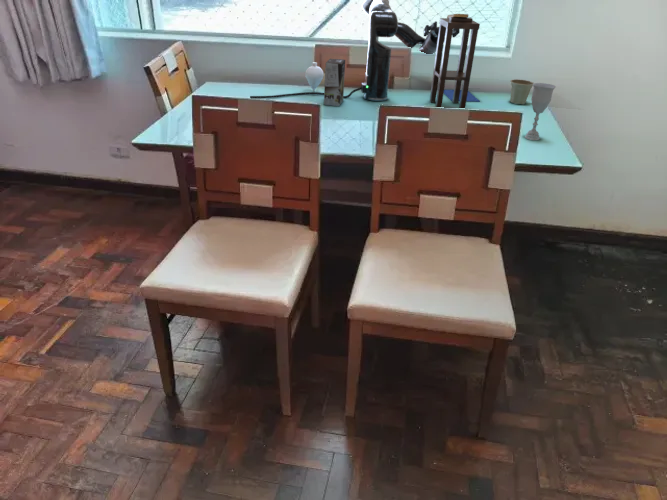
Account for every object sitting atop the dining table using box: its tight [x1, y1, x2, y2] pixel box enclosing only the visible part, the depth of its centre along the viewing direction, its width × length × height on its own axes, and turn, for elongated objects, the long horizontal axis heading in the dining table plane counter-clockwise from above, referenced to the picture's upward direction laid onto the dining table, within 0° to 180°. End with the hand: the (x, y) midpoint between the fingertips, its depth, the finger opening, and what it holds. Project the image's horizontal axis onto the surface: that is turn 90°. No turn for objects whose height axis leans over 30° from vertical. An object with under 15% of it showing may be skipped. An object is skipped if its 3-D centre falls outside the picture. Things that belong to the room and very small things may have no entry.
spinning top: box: [304, 61, 325, 92], centre depth 231 cm, size 8×8×12 cm
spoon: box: [446, 13, 469, 18], centre depth 214 cm, size 18×6×5 cm, turn 5°
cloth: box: [443, 89, 480, 103], centre depth 240 cm, size 12×18×1 cm, turn 5°
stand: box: [429, 17, 481, 109], centre depth 217 cm, size 12×12×33 cm
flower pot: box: [509, 78, 535, 105], centre depth 232 cm, size 9×9×9 cm
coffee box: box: [323, 58, 346, 107], centre depth 217 cm, size 9×6×16 cm
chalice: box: [524, 82, 556, 141], centre depth 189 cm, size 7×7×18 cm
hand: (446, 24), depth 226 cm, fingers open, 8 cm apart
